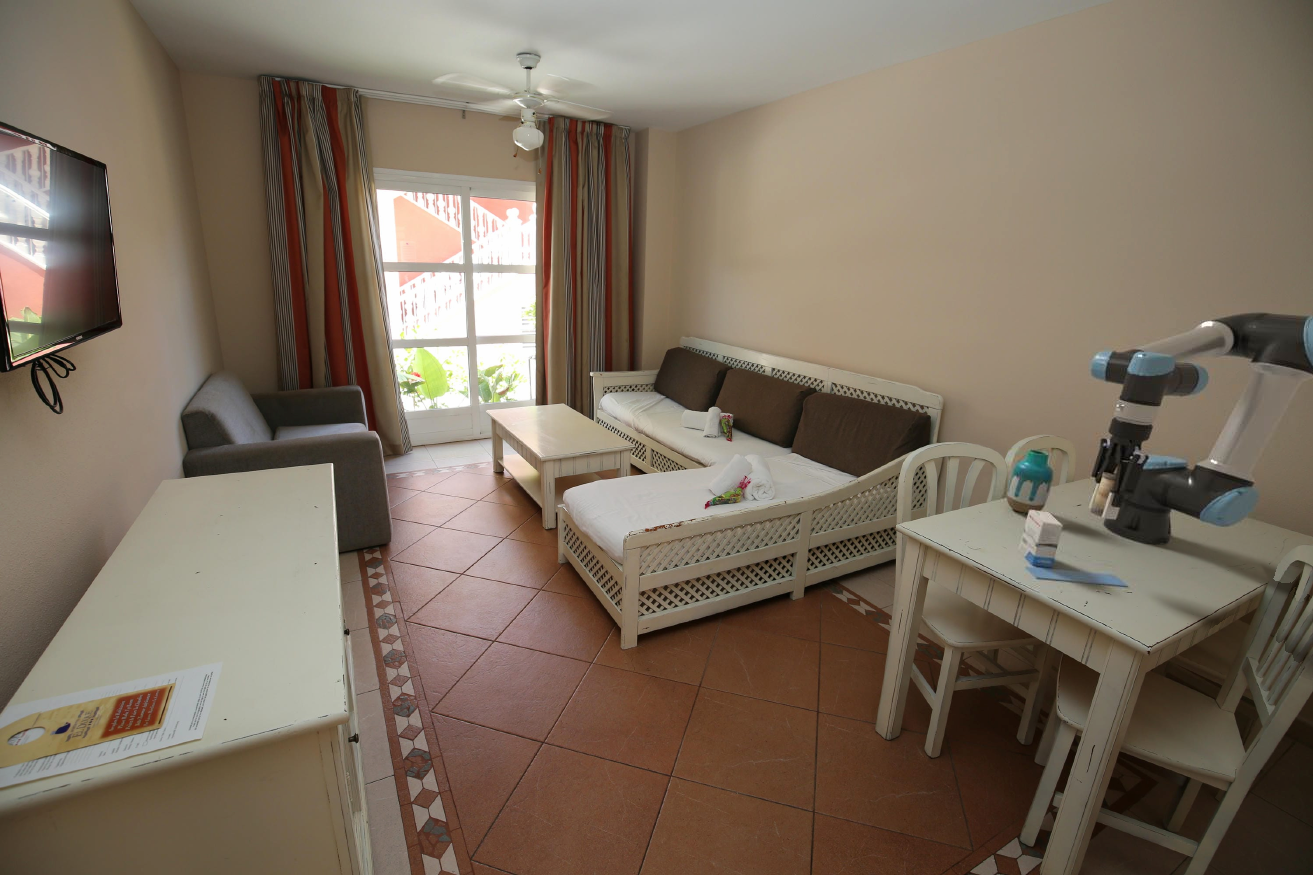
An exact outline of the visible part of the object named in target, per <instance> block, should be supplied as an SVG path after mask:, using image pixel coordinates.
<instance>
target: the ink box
mask: <svg viewBox="0 0 1313 875" xmlns="http://www.w3.org/2000/svg"><path fill="white" fill-rule="evenodd" d="M1063 528H1064V525H1063V524H1062V523H1061V522H1060V521H1059V520H1057V519H1056V518H1055V517H1054V516H1053V515H1052V514H1051V513H1050V512H1048V511H1042V510H1041V511H1036V510H1029V513H1027V518H1026V520H1025V525H1024V528H1023V531H1022V532H1023V533H1022V535H1021V536H1022V537H1021V540H1020V544H1019V548H1018V551H1019V552H1020V553H1021V554H1022V556H1024V557H1025V559H1026V560H1027V561H1028V562H1029V563H1030V564H1031V565H1032V566H1033V567H1035V566H1037V567H1042V568H1053V564H1054V562H1055V557H1056V553H1057V549H1058V545H1059V541H1060V538H1061V534H1062V531H1063Z"/></svg>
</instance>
